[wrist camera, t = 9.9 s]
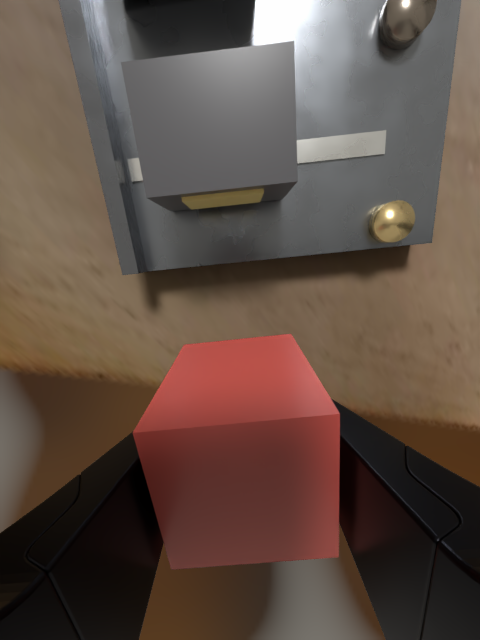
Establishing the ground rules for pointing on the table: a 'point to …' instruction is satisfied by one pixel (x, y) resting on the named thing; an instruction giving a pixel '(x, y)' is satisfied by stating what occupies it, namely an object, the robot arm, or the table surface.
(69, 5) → the breaker panel
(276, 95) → the block
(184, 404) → the cap
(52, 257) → the table surface
